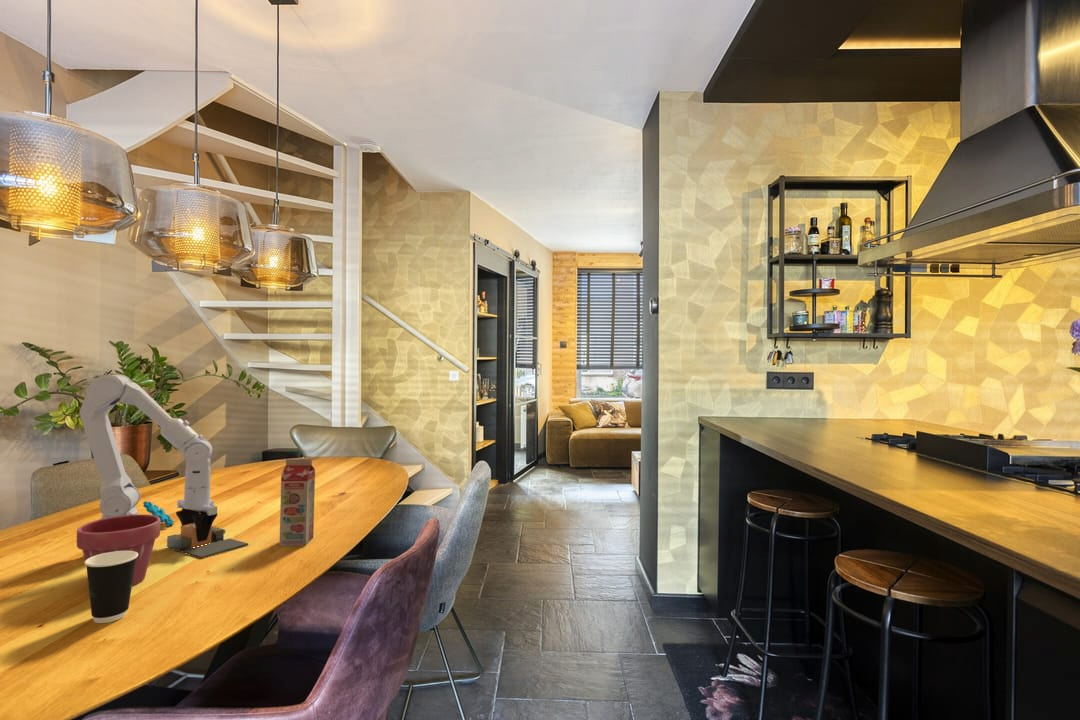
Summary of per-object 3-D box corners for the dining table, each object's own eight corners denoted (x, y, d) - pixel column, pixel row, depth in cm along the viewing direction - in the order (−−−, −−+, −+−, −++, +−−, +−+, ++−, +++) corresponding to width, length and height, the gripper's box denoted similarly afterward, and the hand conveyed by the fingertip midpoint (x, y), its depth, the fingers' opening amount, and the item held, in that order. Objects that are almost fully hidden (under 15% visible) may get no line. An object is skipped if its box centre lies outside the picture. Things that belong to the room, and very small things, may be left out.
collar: (191, 548, 141) (192, 528, 141) (180, 545, 144) (180, 525, 144) (211, 543, 146) (211, 524, 146) (200, 540, 148) (200, 521, 148)
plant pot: (62, 600, 110) (64, 535, 110) (90, 575, 123) (92, 516, 123) (148, 590, 115) (150, 528, 115) (166, 567, 128) (167, 511, 128)
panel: (201, 558, 134) (201, 556, 134) (182, 552, 138) (182, 550, 138) (248, 545, 145) (248, 543, 145) (229, 540, 148) (229, 538, 148)
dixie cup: (70, 624, 99) (72, 563, 100) (111, 606, 107) (113, 549, 107) (108, 629, 98) (110, 566, 98) (147, 610, 106) (149, 552, 106)
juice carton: (287, 538, 151) (290, 457, 152) (313, 537, 152) (315, 457, 152) (279, 546, 145) (281, 461, 145) (305, 545, 145) (308, 461, 146)
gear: (171, 524, 156) (143, 500, 155) (153, 541, 154) (124, 517, 152) (179, 519, 166) (153, 497, 165) (162, 535, 164) (135, 513, 162)
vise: (180, 552, 138) (180, 530, 139) (166, 548, 141) (167, 526, 141) (230, 538, 150) (231, 518, 150) (217, 535, 153) (217, 515, 153)
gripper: (229, 487, 145) (227, 539, 145) (197, 480, 152) (195, 530, 152) (201, 492, 139) (200, 546, 139) (169, 485, 146) (168, 537, 146)
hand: (196, 538), depth 145 cm, fingers closed on collar, 5 cm apart
